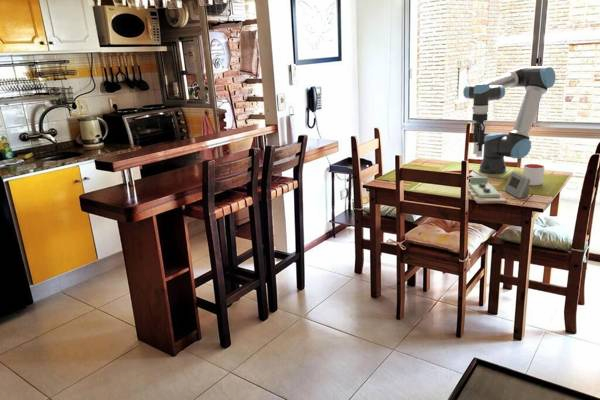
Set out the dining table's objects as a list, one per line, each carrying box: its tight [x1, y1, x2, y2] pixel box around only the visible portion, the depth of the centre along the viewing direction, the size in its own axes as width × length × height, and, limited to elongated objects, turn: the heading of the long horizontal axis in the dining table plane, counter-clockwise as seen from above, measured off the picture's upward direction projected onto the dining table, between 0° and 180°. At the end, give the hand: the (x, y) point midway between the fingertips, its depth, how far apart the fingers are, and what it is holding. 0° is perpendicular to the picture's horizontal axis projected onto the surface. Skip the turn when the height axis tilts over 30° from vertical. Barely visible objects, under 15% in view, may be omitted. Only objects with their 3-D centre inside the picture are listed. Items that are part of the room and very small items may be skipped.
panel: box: [468, 176, 501, 197], centre depth 239 cm, size 22×10×4 cm, turn 173°
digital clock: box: [504, 171, 530, 200], centre depth 233 cm, size 16×9×11 cm, turn 172°
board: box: [468, 183, 508, 204], centre depth 237 cm, size 29×14×4 cm, turn 173°
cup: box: [522, 163, 545, 187], centre depth 250 cm, size 10×10×10 cm
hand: (477, 155), depth 250 cm, fingers open, 6 cm apart
